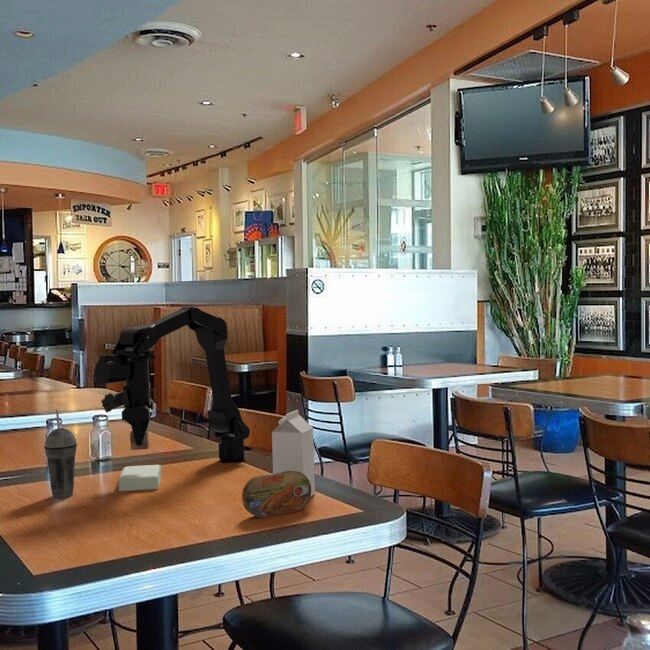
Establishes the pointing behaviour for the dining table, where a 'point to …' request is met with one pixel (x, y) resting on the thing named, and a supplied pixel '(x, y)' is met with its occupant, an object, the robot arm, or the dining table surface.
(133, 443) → the walnut block
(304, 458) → the milk carton
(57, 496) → the beverage cup
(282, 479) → the tin
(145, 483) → the plinth
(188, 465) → the dining table surface
